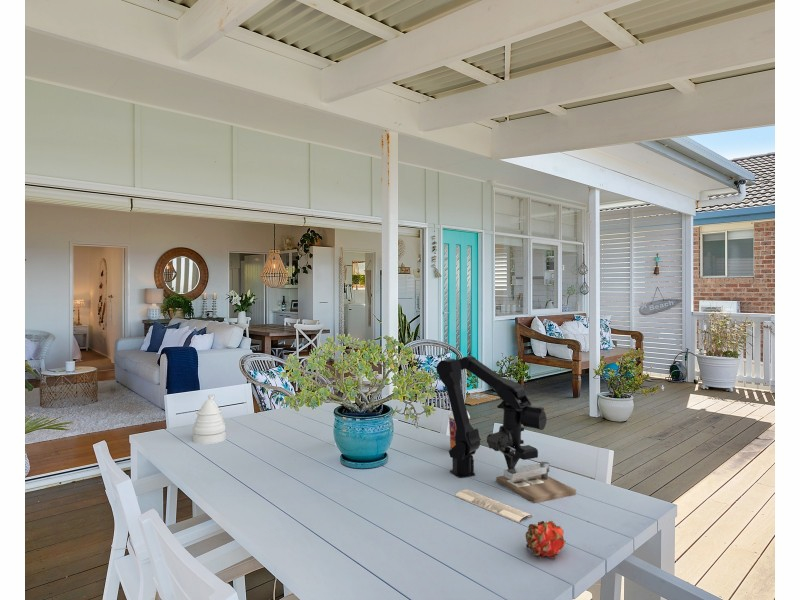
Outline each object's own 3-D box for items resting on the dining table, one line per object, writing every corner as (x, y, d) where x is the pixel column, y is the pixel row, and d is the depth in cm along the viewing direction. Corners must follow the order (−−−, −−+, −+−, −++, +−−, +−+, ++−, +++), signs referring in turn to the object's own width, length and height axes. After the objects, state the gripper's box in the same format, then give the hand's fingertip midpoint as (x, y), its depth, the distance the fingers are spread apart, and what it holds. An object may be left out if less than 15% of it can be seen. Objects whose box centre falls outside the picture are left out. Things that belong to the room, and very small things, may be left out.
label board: (534, 503, 153) (534, 490, 153) (496, 481, 171) (496, 470, 170) (575, 494, 160) (576, 482, 160) (535, 474, 177) (535, 463, 177)
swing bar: (543, 468, 172) (543, 460, 172) (552, 472, 168) (552, 464, 168) (504, 476, 164) (504, 468, 164) (512, 480, 161) (512, 472, 160)
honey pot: (200, 434, 223) (200, 392, 222) (230, 435, 222) (230, 393, 222) (187, 443, 210) (187, 399, 209) (218, 444, 209) (218, 399, 209)
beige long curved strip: (532, 519, 144) (532, 512, 144) (516, 526, 140) (516, 520, 140) (468, 493, 162) (468, 487, 162) (452, 499, 158) (452, 493, 157)
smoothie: (469, 448, 206) (470, 397, 206) (470, 454, 198) (470, 402, 197) (448, 447, 207) (448, 397, 207) (448, 454, 199) (448, 401, 198)
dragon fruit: (525, 568, 120) (556, 559, 128) (552, 558, 115) (583, 549, 123) (511, 529, 125) (542, 523, 132) (537, 518, 120) (567, 512, 127)
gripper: (474, 418, 170) (472, 465, 171) (511, 434, 154) (509, 486, 154) (501, 415, 175) (499, 461, 176) (540, 430, 159) (538, 480, 159)
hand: (510, 471), depth 166 cm, fingers closed
